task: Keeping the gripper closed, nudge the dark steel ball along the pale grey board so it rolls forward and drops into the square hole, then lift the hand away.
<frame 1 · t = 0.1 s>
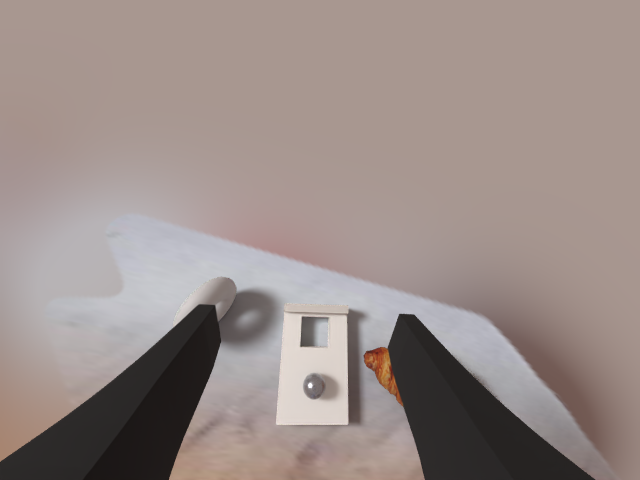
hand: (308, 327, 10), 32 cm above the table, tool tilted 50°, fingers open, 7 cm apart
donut: (219, 309, 40), on the table
croissant: (421, 381, 38), on the table
board: (313, 358, 38), on the table
ball: (314, 385, 33), point 4 cm above the table, touching board
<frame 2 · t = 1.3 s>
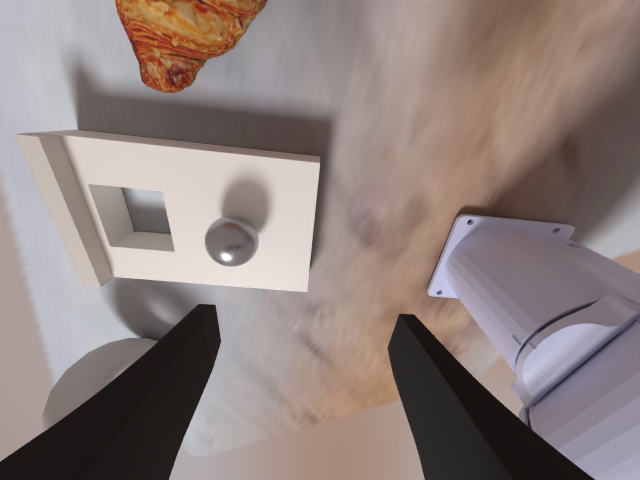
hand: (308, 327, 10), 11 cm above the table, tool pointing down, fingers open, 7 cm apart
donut: (161, 343, 26), on the table
board: (210, 212, 18), on the table
ball: (232, 241, 15), point 4 cm above the table, touching board
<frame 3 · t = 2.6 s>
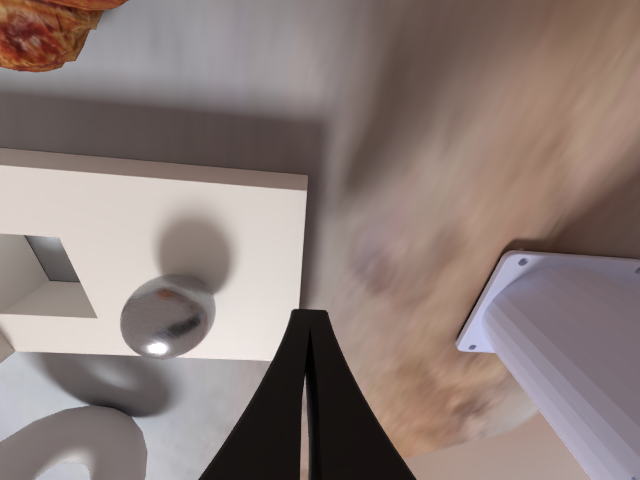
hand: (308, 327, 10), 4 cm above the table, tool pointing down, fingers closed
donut: (114, 407, 20), on the table
board: (154, 254, 13), on the table
ball: (172, 314, 9), point 4 cm above the table, touching board
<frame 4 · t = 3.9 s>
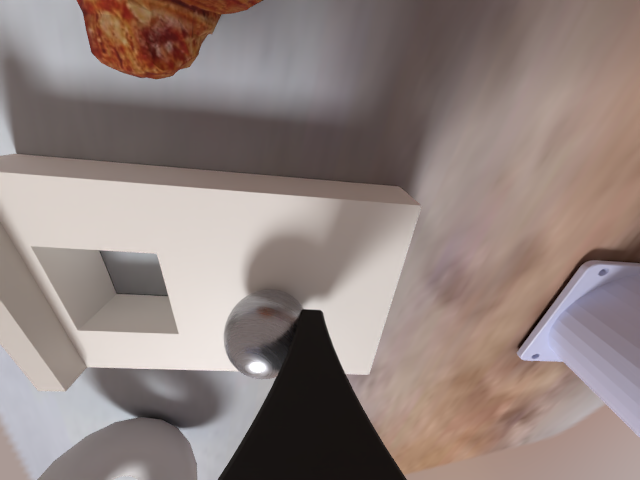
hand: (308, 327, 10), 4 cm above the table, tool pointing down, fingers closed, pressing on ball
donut: (160, 418, 20), on the table
board: (228, 266, 13), on the table
ball: (268, 331, 9), point 4 cm above the table, tilted 10°, touching board, gripper
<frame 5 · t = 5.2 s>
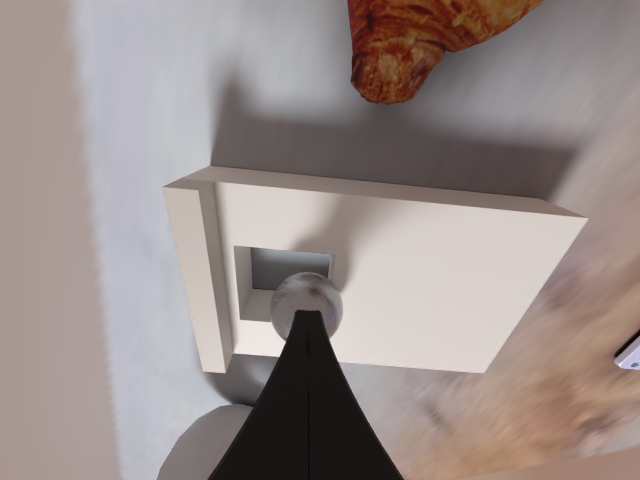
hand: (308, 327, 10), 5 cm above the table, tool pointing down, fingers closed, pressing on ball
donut: (251, 406, 21), on the table
board: (359, 267, 14), on the table
ball: (306, 308, 10), point 4 cm above the table, tilted 144°, touching board, gripper
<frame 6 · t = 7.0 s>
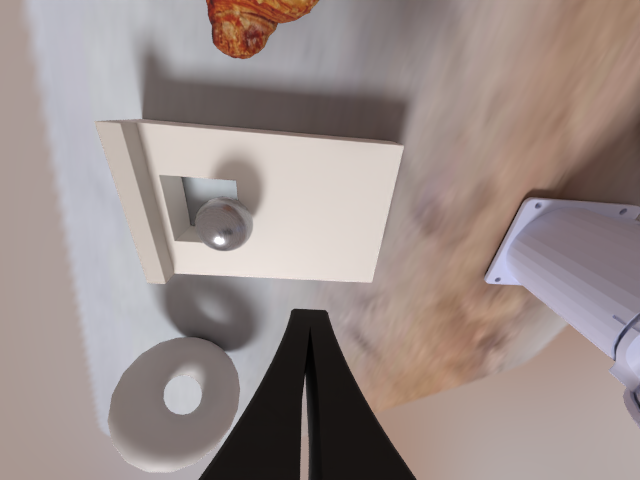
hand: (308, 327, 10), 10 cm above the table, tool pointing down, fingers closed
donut: (207, 342, 25), on the table
board: (271, 203, 18), on the table
ball: (225, 224, 14), point 4 cm above the table, tilted 173°, touching board
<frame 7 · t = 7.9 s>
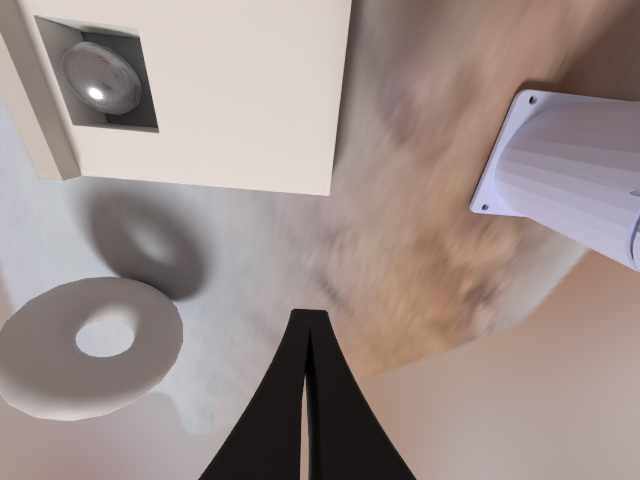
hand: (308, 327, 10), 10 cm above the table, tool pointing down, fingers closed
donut: (150, 289, 22), on the table
board: (204, 92, 14), on the table
ball: (104, 80, 13), point 2 cm above the table, tilted 47°
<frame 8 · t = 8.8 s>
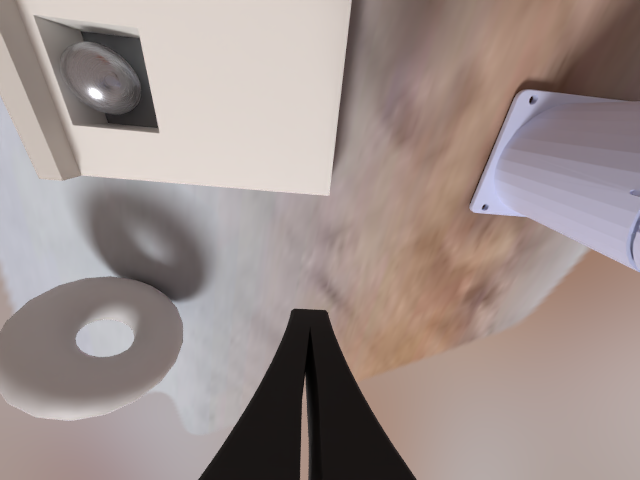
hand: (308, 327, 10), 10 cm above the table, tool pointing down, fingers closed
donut: (150, 289, 22), on the table
board: (204, 92, 14), on the table
ball: (103, 80, 13), point 2 cm above the table, tilted 47°
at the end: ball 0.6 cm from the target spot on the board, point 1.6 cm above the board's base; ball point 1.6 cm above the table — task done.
